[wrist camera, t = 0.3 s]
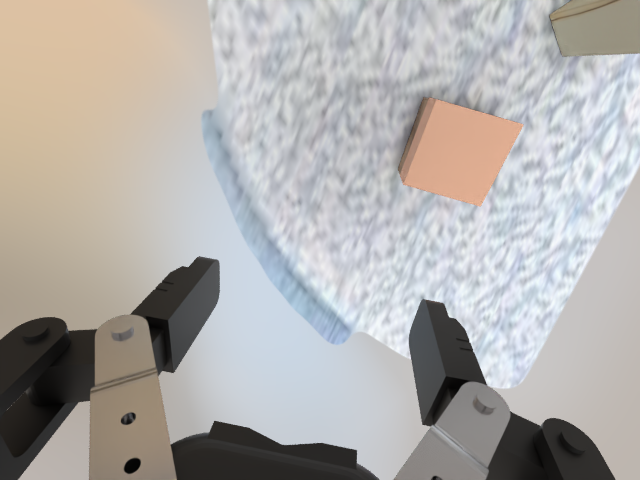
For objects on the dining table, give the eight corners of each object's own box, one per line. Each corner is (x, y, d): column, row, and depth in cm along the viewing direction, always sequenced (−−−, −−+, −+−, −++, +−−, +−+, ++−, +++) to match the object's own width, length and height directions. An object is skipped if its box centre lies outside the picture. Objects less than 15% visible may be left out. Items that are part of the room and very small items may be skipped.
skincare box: (622, -33, 28) (782, -100, 17) (634, 17, 30) (790, -16, 19) (545, 16, 30) (646, -16, 20) (560, 61, 32) (662, 54, 21)
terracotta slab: (429, 97, 32) (436, 99, 28) (508, 119, 32) (523, 124, 29) (399, 174, 35) (403, 184, 32) (470, 194, 35) (480, 206, 32)
